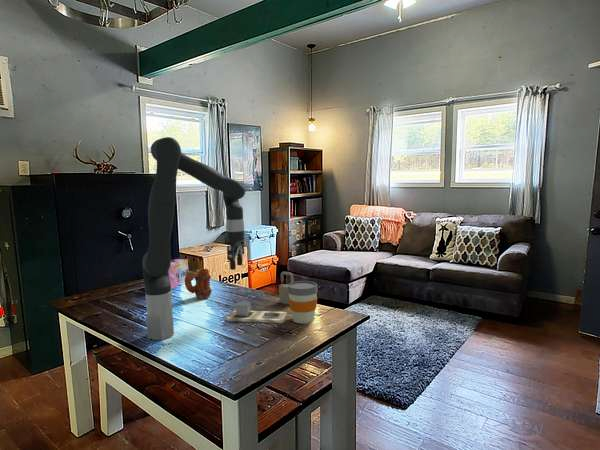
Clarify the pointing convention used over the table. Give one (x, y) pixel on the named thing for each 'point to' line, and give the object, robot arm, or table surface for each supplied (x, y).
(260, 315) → the beige flat rectangular frame
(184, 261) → the gum box
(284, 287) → the padlock
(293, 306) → the reusable coffee cup
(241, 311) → the grey block
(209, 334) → the table surface
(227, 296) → the table surface
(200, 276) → the mug
